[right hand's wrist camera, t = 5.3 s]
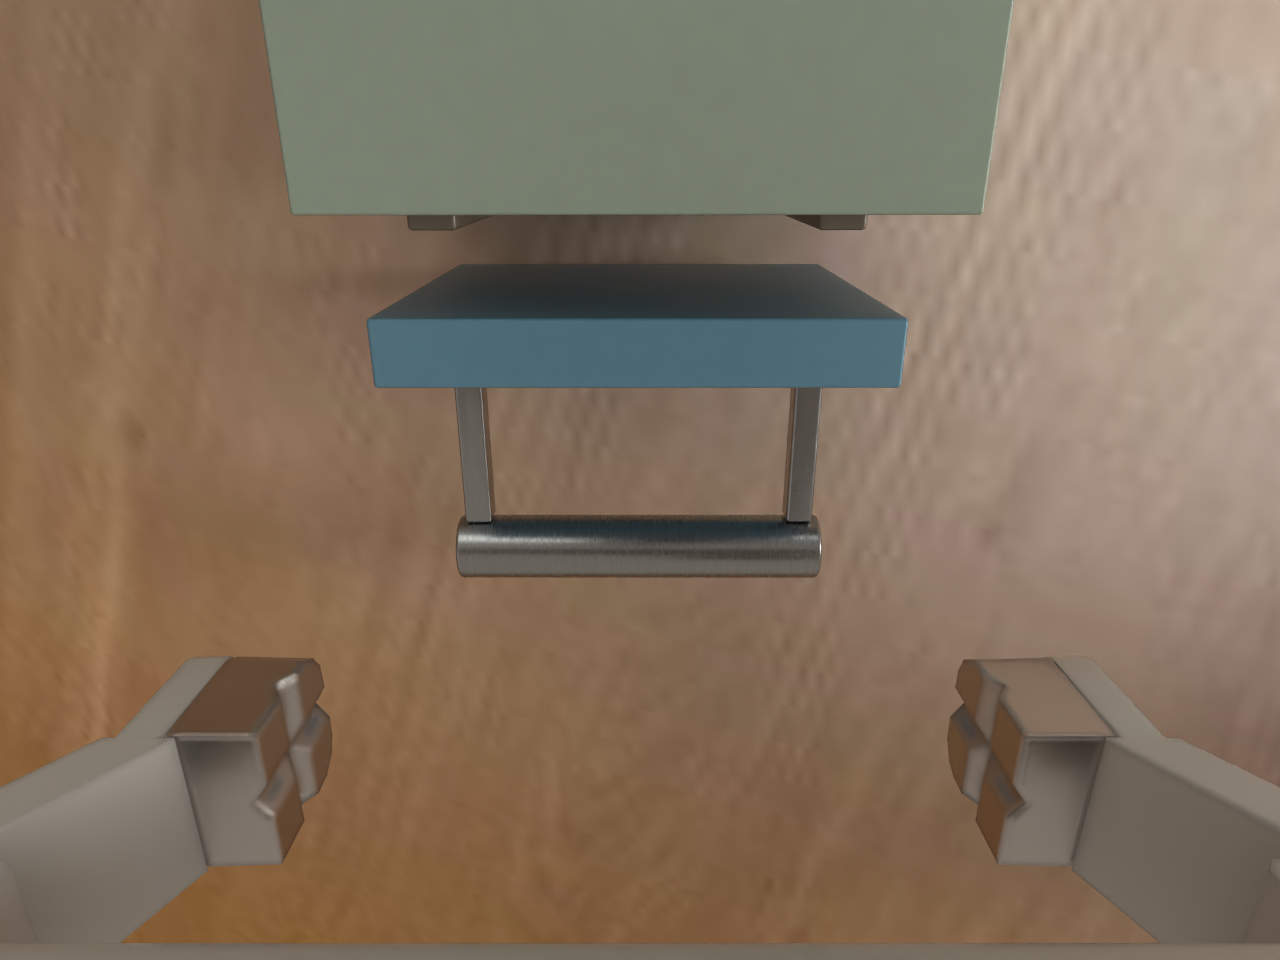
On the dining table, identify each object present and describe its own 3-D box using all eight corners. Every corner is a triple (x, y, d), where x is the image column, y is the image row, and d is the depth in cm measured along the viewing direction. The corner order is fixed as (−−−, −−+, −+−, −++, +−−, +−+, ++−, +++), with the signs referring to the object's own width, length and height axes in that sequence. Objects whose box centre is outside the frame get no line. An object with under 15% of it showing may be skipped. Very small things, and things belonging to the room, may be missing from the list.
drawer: (799, 512, 23) (868, 666, 16) (478, 512, 23) (408, 665, 16) (880, -527, 15) (1081, -1104, 8) (395, -526, 15) (188, -1099, 8)
